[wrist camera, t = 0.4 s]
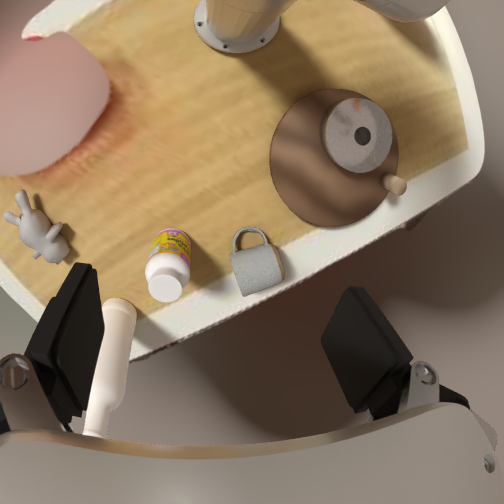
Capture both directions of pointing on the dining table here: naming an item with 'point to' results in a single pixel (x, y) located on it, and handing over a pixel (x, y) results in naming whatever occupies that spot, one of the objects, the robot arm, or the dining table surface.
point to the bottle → (110, 365)
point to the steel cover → (356, 134)
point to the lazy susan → (325, 168)
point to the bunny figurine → (38, 231)
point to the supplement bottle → (168, 265)
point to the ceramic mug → (256, 265)
